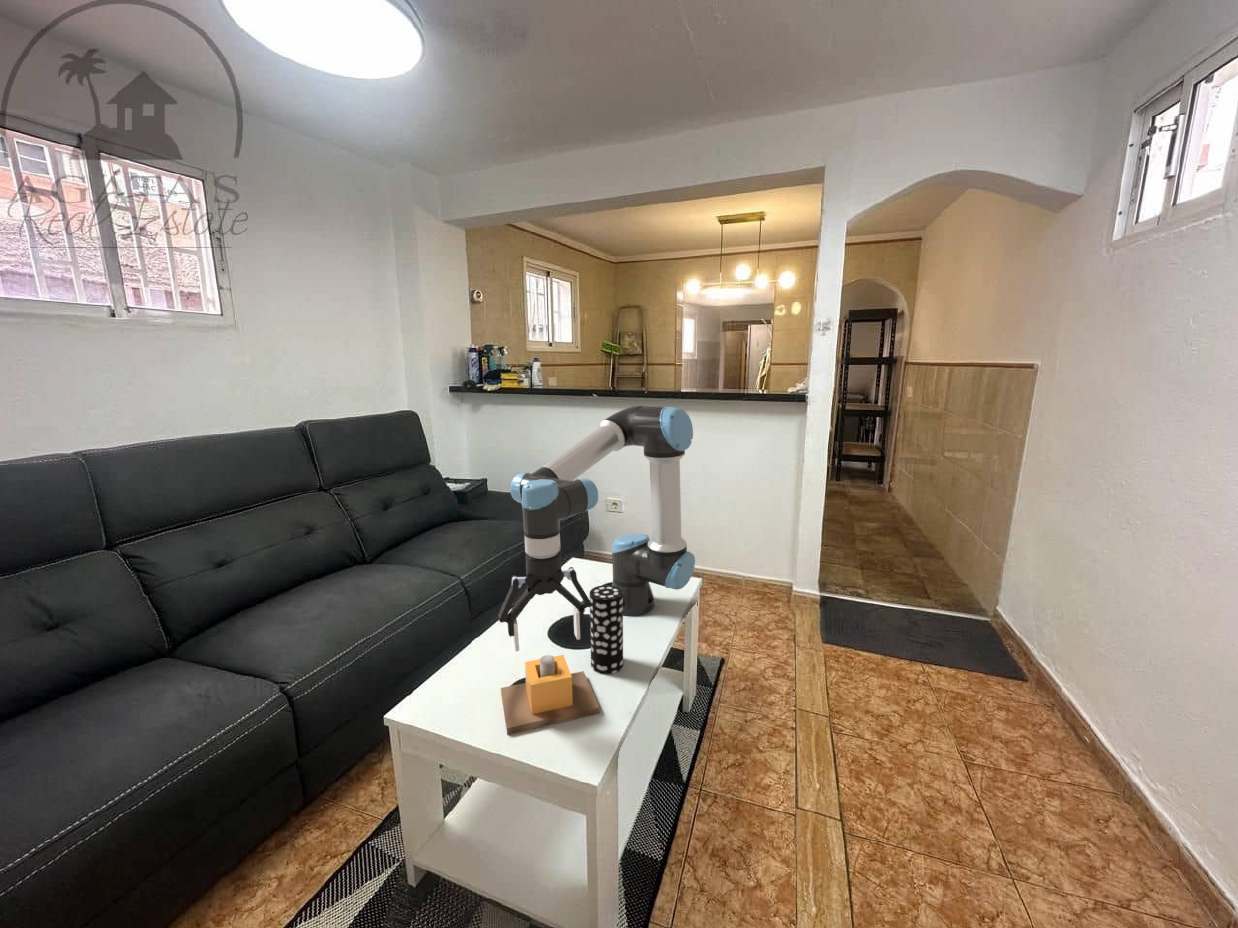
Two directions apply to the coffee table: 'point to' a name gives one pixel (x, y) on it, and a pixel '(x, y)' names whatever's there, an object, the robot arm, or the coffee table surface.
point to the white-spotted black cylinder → (606, 629)
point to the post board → (523, 719)
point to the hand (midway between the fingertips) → (547, 642)
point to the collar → (548, 686)
